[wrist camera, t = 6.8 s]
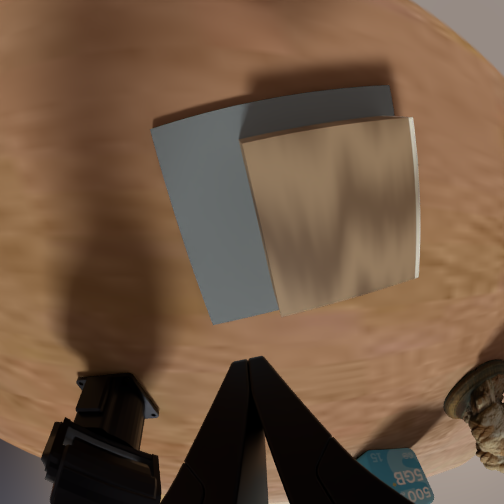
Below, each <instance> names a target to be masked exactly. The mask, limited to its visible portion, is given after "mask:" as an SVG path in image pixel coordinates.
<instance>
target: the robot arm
mask: <svg viewBox="0 0 504 504" xmlns="http://www.w3.org/2000/svg"><path fill="white" fill-rule="evenodd" d="M76 383H77V384H78V386H79V387H80V388H81V390H82V393H81V395H80V398H79V401H78V404H77V406H76V412H77V414H76V417H75V420H74V422H72V421H71V420H70V419H68V418H66V417H65V419H64V421H63V422H55V423H54V426H53V429H52V431H51V434H50V437H49V439H48V442H47V444H46V446H45V449H44V451H43V454H42V457H41V460H42V462H43V464H44V466H45V471H46V472H47V474H46V477H45V480H47V481H49V482H52V483H53V487H52V491H51V495H50V503H51V504H268V488H267V469H266V450H265V437H266V440H267V442H268V445H269V448H270V451H271V454H272V457H273V459H274V462H275V465H276V468H277V471H278V473H279V476H280V479H281V481H282V484H283V487H284V490H285V492H286V495H287V498H288V500H289V503H290V504H415V503H413V502H412V501H410V500H409V499H407V498H406V497H404V496H403V495H401V494H400V493H398V492H397V491H396V490H394V489H393V488H391V487H390V486H389V485H387V484H386V483H384V482H383V481H382V480H380V479H379V478H378V477H376V476H375V475H374V474H372V473H371V472H370V471H369V470H367V469H366V468H365V467H364V466H362V465H361V464H360V463H359V462H358V461H356V460H355V459H354V458H353V457H352V456H351V455H350V454H349V453H348V452H347V451H346V450H345V449H344V448H343V447H342V446H341V445H340V444H339V442H338V441H337V440H336V439H335V438H334V437H332V435H331V434H330V433H329V432H328V431H327V430H326V428H325V427H324V426H323V425H322V424H321V423H320V422H319V421H318V419H317V418H316V417H315V416H314V415H313V414H312V413H311V412H310V410H309V409H308V408H307V407H306V406H305V405H304V404H303V402H302V401H301V400H300V399H299V398H298V397H297V395H296V394H295V393H294V392H293V391H292V390H291V388H290V387H289V386H288V385H287V384H286V383H285V381H284V380H283V379H282V378H281V377H280V375H279V374H278V373H277V372H276V371H275V369H274V368H273V367H272V366H271V365H270V363H269V362H268V361H267V360H266V359H265V357H263V356H258V357H254V358H250V359H249V360H246V359H244V360H239V361H234V362H233V363H232V364H231V366H230V368H229V370H228V372H227V374H226V376H225V379H224V381H223V383H222V385H221V387H220V389H219V391H218V393H217V395H216V397H215V399H214V402H213V404H212V406H211V408H210V410H209V412H208V414H207V416H206V418H205V420H204V422H203V424H202V426H201V428H200V430H199V432H198V434H197V436H196V438H195V440H194V442H193V444H192V446H191V448H190V450H189V452H188V454H187V456H186V458H185V460H184V462H185V463H183V464H182V466H181V468H180V470H179V472H178V474H177V476H176V478H175V480H174V481H173V483H172V485H171V487H170V488H169V490H168V492H167V493H166V495H165V496H164V498H163V499H162V501H161V502H160V500H161V482H160V471H159V459H158V456H157V455H154V454H152V455H151V454H148V453H145V452H142V451H140V445H141V438H142V432H143V426H144V420H145V419H148V418H157V417H158V416H159V412H158V410H157V409H156V408H155V406H154V405H153V403H152V402H151V401H150V399H149V398H148V396H147V395H146V394H145V392H144V391H143V389H142V388H141V386H140V385H139V383H138V382H137V380H136V379H135V377H134V376H133V375H132V374H130V373H121V374H112V375H102V376H91V377H79V378H78V379H77V381H76ZM264 434H265V435H264ZM63 444H64V445H63ZM65 445H66V446H65Z"/></svg>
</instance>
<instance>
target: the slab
mask: <svg viewBox="0 0 504 504" xmlns="http://www.w3.org/2000/svg"><path fill="white" fill-rule="evenodd" d="M239 144H240V148H241V152H242V156H243V161H244V165H245V169H246V173H247V178H248V182H249V186H250V190H251V195H252V199H253V203H254V208H255V212H256V216H257V221H258V225H259V229H260V234H261V238H262V243H263V247H264V251H265V256H266V260H267V265H268V269H269V273H270V278H271V282H272V287H273V290H274V294H275V297H276V301H277V304H278V307H279V311H280V314H281V317H284V316H288V315H292V314H296V313H300V312H304V311H308V310H311V309H315V308H319V307H322V306H326V305H330V304H333V303H337V302H340V301H344V300H347V299H351V298H354V297H358V296H361V295H364V294H368V293H371V292H374V291H378V290H381V289H384V288H387V287H390V286H393V285H397V284H400V283H403V282H406V281H409V280H412V279H415V278H418V277H419V259H420V191H419V173H418V159H417V148H416V139H415V130H414V122H413V117H400V116H374V117H365V118H357V119H349V120H341V121H334V122H327V123H321V124H315V125H309V126H303V127H297V128H292V129H286V130H281V131H276V132H271V133H266V134H261V135H257V136H252V137H248V138H243V139H239Z"/></svg>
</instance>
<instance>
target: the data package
mask: <svg viewBox="0 0 504 504" xmlns="http://www.w3.org/2000/svg"><path fill="white" fill-rule="evenodd" d="M356 461H358V462H359V463H360V464H361V465H362V466H364V467H365V468H366V469H367V470H369V471H370V472H371V473H372V474H374V475H375V476H376V477H378V478H379V479H380V480H382V481H383V482H384V483H386V484H387V485H389V486H390V487H391V488H393V489H394V490H396V491H397V492H398V493H400V494H401V495H403V496H404V497H406V498H407V499H409V500H410V501H412V502H413V503H415V504H430V503H432V502H433V500H434V494H433V492H432V489H431V488H430V485H429V483H428V481H427V478H426V476H425V474H424V472H423V470H422V467H421V465H420V463H419V461H418V459H417V457H416V455H415V453H414V452H413V451H412V450H411V449H409V448H399V449H384V450H368V451H367V452H365V453H364V454H363V455H362V456H360V457H359V458H358V459H357V460H356Z"/></svg>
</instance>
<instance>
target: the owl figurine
mask: <svg viewBox="0 0 504 504" xmlns="http://www.w3.org/2000/svg"><path fill="white" fill-rule="evenodd" d="M476 370H477V371H474V370H473V371H471V372H469V373H468V374H467V375H466V376H465V377H464V378H463V379H462V380H461V381H460V382H458V383H457V384H456V386H455V387H454V388H453V389H452V390H451V391H450V393H449V394H448V396H447V397H446V399H445V401H444V411H445V412H446V414H447V415H448V416H449V417H451V418H453V419H462V420H464V421H465V422H466V423H468V424H469V427H470V429H471V432H472V435H473V436H474V437H475V439H476V449H477V452H476V455H477V456H478V457H480V461H481V462H483V464H484V466H485V467H486V468H487V469H489V470H495V469H496V470H497V471H500V472H502V473H504V403H502V399H503V398H504V396H503V395H502V394H503V393H504V361H502V360H492V361H488V362H486V363H484V364H482V365H480V366H479V367H477V368H476Z"/></svg>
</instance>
